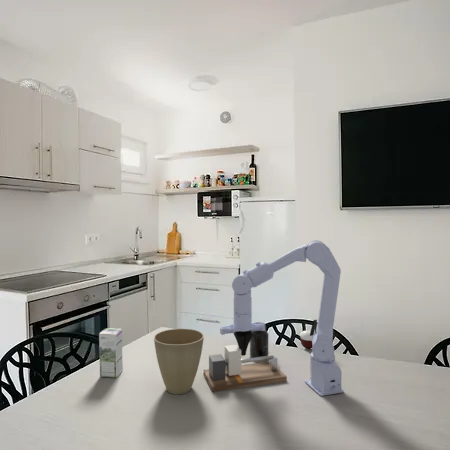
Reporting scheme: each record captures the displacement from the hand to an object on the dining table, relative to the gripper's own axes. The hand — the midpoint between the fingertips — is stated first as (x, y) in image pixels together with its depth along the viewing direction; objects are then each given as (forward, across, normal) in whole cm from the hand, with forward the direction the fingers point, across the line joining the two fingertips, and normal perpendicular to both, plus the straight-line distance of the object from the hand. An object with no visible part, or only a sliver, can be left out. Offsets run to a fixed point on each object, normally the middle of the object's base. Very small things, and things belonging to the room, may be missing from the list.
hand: (242, 354), depth 114 cm
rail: (+6, -1, 0) cm, 6 cm away
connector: (+6, +9, 0) cm, 10 cm away
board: (+8, 0, 0) cm, 8 cm away
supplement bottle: (+8, -12, -15) cm, 20 cm away
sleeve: (+5, +3, 0) cm, 6 cm away
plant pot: (+8, +20, +1) cm, 22 cm away
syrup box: (+8, +40, -15) cm, 44 cm away
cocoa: (+8, -34, -18) cm, 39 cm away
